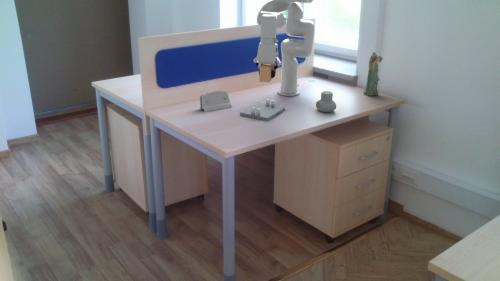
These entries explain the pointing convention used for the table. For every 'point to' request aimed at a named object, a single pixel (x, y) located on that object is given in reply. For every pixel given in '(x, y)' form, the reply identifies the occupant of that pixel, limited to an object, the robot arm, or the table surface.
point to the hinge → (214, 101)
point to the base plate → (263, 110)
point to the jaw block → (265, 73)
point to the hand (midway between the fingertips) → (266, 76)
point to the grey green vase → (326, 102)
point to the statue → (372, 75)
